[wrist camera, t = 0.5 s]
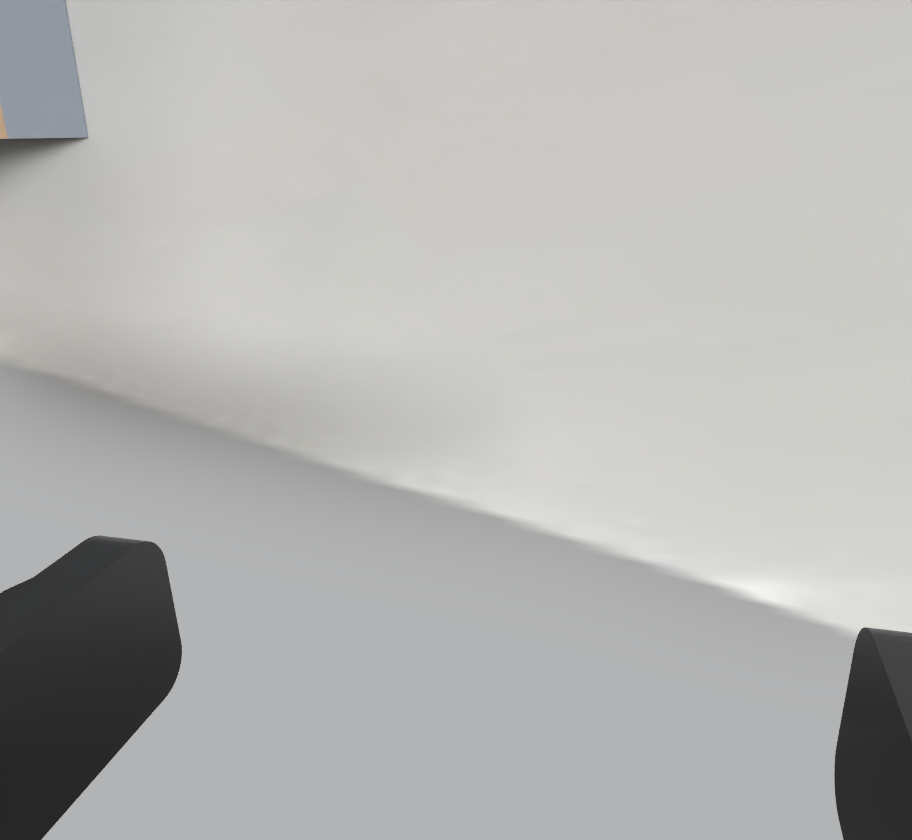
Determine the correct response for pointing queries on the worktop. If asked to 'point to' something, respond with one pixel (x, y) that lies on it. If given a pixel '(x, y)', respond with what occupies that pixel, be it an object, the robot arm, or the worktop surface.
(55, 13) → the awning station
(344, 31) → the worktop surface
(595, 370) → the worktop surface
